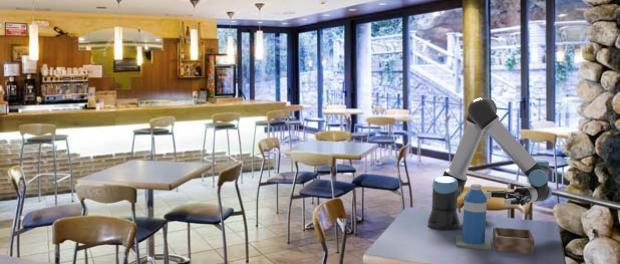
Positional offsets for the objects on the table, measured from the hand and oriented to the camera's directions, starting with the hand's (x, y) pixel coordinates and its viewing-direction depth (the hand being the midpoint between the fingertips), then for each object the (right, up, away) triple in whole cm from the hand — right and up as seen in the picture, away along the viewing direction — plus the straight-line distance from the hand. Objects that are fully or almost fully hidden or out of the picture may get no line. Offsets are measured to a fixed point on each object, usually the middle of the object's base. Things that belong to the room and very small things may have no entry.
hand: (492, 199), depth 239 cm
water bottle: (-10, -18, -3) cm, 21 cm away
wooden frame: (+6, -19, -7) cm, 22 cm away
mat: (-10, -19, -3) cm, 21 cm away
